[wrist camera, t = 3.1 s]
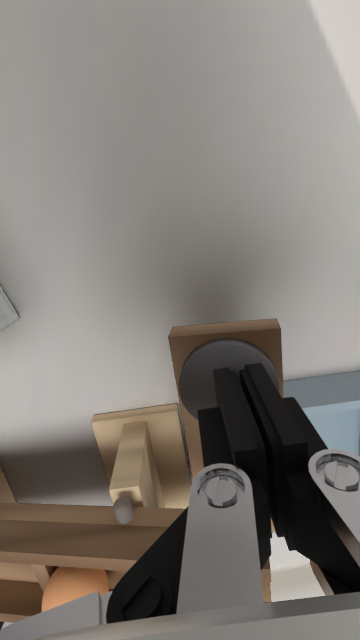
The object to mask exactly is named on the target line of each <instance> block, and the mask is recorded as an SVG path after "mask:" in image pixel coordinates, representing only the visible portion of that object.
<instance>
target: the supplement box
mask: <svg viewBox="0 0 360 640" xmlns="http://www.w3.org/2000/svg"><path fill="white" fill-rule="evenodd" d="M18 319H19V317H18V315H17V313H16V311H15V309H14V308H13V306H12V304H11V302H10V301H9V299H8V297H7V296H6V294H5V293H4V291H3V289H2V287H1V286H0V332H2V331H3V330H4V329H6V328H7V327H8V326H10V325H11V324H12V323H14V322H15V321H17V320H18Z"/></svg>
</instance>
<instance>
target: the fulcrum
mask: <svg viewBox="0 0 360 640" xmlns="http://www.w3.org/2000/svg"><path fill="white" fill-rule="evenodd" d="M91 424H92V427H93V431H94V434H95V438H96V441H97V445H98V448H99V451H100V455H101V458H102V462H103V465H104V468H105V472H106V475H107V479H108V482H109V486H110V487H109V492H110V496H111V499H112V502H113V505H114V503H115V501H116V500H117V499H118V498H120V497H128V498H130V500H131V503H132V507H148V508H179V509H180V508H187V507H188V506H189V497H190V489H191V482H190V476H189V470H188V465H187V459H186V453H185V448H184V442H183V436H182V430H181V425H180V419H179V413H178V408H177V404H171V405H164V406H157V407H149V408H142V409H135V410H128V411H120V412H113V413H106V414H99V415H94V416H93V419H92V421H91Z"/></svg>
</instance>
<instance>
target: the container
mask: <svg viewBox="0 0 360 640" xmlns="http://www.w3.org/2000/svg"><path fill="white" fill-rule="evenodd" d="M10 624H13V623H10V622H2V621H0V630H1V629H3V628H5V627H6V626H8V625H10Z"/></svg>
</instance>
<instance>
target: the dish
mask: <svg viewBox="0 0 360 640" xmlns="http://www.w3.org/2000/svg"><path fill="white" fill-rule="evenodd" d="M286 397H294V398H295V399H296V400H297V402H298V403H299V405H300V406H301V408H302V409H303V411H304V413H305V414H306V416H307V417H308V419H309V420H310V422H311V423H312V425H313V426H314V428H315V429H316V431H317V432H318V434H319V435H320V437H321V438H322V440H323V441H324V443H325V444H326V446H327V447H328V449H340V450H345V451H348V452H352V453H354V454H356V455H358V456H360V370H359V371H352V372H345V373H338V374H331V375H324V376H317V377H310V378H303V379H295V380H288V381H283V398H286ZM272 533H274V532H272Z"/></svg>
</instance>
